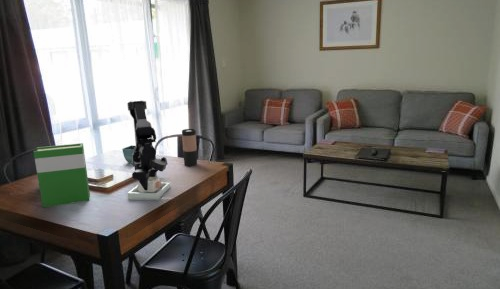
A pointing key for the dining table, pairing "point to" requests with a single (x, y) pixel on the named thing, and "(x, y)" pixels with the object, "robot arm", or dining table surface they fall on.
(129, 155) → the flower pot
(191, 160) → the travel mug
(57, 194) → the hardback book
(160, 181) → the stand
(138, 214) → the dining table surface
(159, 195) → the tray
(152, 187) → the collar
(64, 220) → the dining table surface
